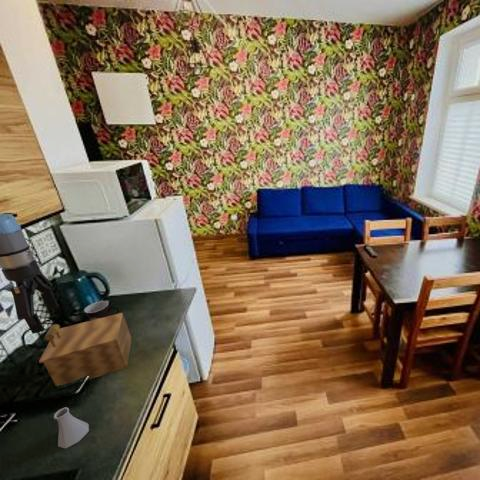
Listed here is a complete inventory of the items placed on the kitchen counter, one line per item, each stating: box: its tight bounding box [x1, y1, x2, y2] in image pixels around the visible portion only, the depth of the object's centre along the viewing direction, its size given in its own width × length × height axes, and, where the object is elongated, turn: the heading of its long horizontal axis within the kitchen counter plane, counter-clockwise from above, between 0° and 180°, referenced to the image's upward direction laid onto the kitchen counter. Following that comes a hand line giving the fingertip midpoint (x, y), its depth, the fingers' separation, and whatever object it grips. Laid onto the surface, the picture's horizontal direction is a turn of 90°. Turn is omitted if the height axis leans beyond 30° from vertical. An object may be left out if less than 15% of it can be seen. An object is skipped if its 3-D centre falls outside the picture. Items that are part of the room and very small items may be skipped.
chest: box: [42, 315, 132, 387], centre depth 101 cm, size 20×17×13 cm
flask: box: [53, 406, 90, 449], centre depth 77 cm, size 7×7×10 cm
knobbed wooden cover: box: [38, 312, 124, 364], centre depth 97 cm, size 21×17×6 cm
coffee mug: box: [83, 300, 120, 321], centre depth 121 cm, size 12×9×10 cm
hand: (46, 319), depth 90 cm, fingers open, 13 cm apart
